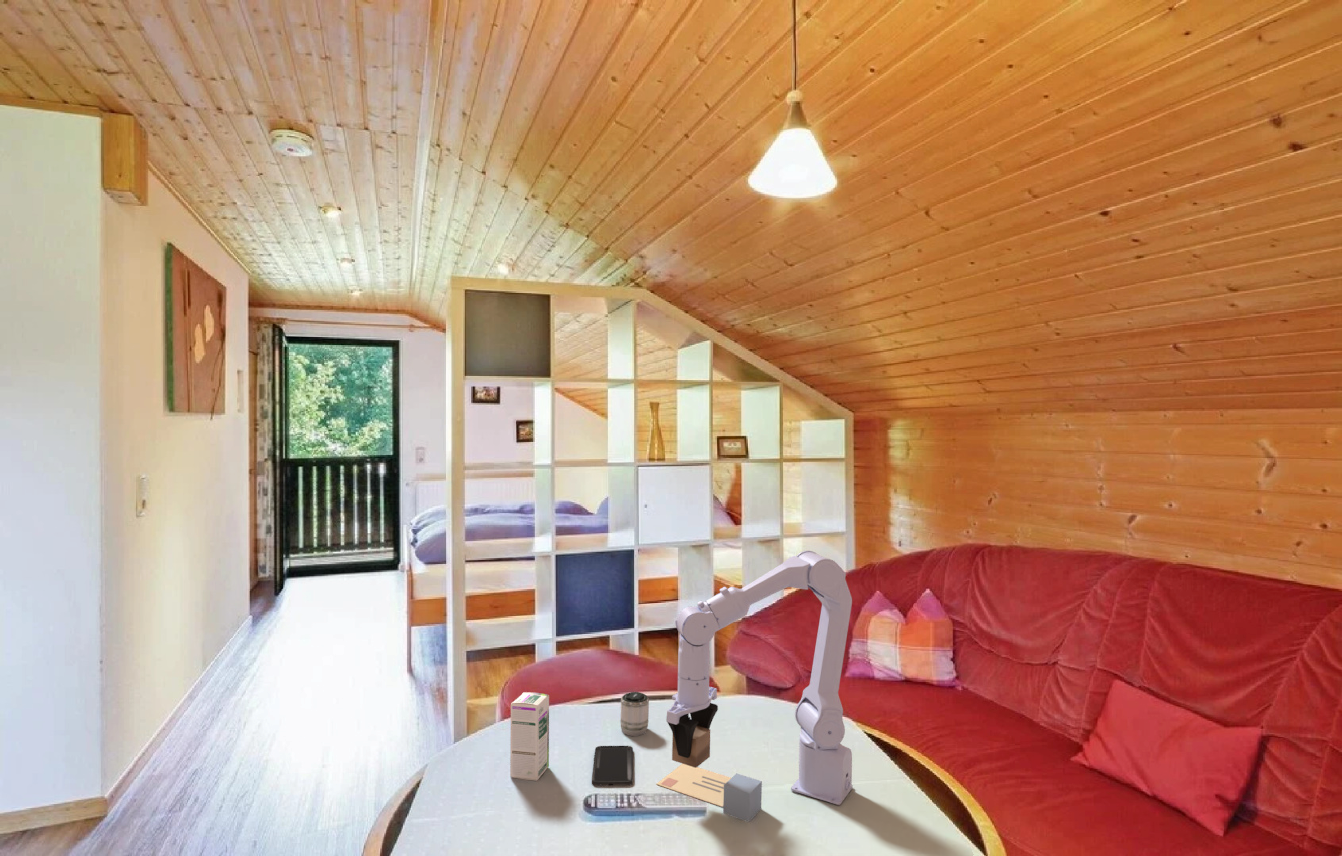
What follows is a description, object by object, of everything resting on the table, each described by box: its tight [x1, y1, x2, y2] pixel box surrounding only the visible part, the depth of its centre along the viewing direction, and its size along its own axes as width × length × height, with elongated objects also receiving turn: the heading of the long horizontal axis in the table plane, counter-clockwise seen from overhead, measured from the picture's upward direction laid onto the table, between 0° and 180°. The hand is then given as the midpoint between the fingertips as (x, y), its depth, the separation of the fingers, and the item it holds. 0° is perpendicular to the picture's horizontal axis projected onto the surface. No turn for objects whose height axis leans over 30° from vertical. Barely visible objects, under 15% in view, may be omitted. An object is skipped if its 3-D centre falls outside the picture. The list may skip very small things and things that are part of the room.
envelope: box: [655, 763, 732, 808], centre depth 130 cm, size 14×10×1 cm
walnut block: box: [671, 726, 711, 768], centre depth 125 cm, size 5×5×5 cm
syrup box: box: [509, 691, 550, 782], centre depth 134 cm, size 6×6×14 cm
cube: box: [722, 773, 763, 823], centre depth 121 cm, size 5×5×5 cm
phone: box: [591, 745, 634, 787], centre depth 136 cm, size 8×1×15 cm
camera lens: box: [619, 691, 650, 737], centre depth 153 cm, size 6×6×8 cm
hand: (691, 749), depth 125 cm, fingers closed on walnut block, 5 cm apart
